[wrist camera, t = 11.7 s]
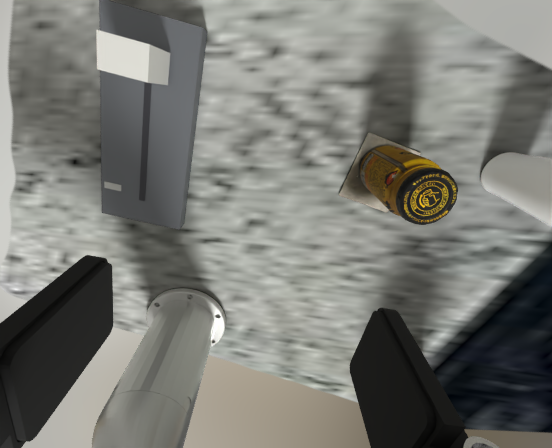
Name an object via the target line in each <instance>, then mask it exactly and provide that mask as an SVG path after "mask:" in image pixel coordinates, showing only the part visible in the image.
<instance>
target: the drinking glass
mask: <svg viewBox="0 0 552 448" xmlns="http://www.w3.org/2000/svg"><path fill="white" fill-rule="evenodd" d="M481 183H482V186H483V187H484V189H485V190H486V191H488V192H489V193H492V194H494V195H496V196H498V197H500V198H502V199H503V200H505V201H507V202H509V203H510V204H512V205H514V206H516V207H517V208H519V209H521V210H522V211H524V212H526V213H527V214H529V215H531V216H533V217H534V218H536V219H538V220H539V221H541V222H543V223H544V224H546V225H548V226H550V227H551V228H552V158H547V157H539V156H531V155H524V154H520V153H514V152H507V153H502V154H500V155H497V156H496V157H494V158H492V159H491V160H490V161H489V162H488V163H487V164H486V165H485V167H484V169H483V171H482V174H481Z"/></svg>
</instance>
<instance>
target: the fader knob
mask: <svg viewBox="0 0 552 448" xmlns="http://www.w3.org/2000/svg"><path fill="white" fill-rule="evenodd" d="M96 31H97V69H98V70H102V71H106V72H109V73H113V74H117V75H121V76H124V77H128V78H132V79H136V80H140V81H143V82H147V83H154V84H162V85H168V77H169V64H170V53H169V52H166V51H164V50H162V49H159V48H157V47H155V46H152V45H150V44H146V43H143V42H139V41H136V40H132V39H128V38H125V37H121V36H118V35H114V34H110V33H107V32H103V31H100V30H96Z"/></svg>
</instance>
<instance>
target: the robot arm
mask: <svg viewBox="0 0 552 448" xmlns="http://www.w3.org/2000/svg"><path fill="white" fill-rule="evenodd" d="M146 319H147V325H148V327H149V329H148V330H147V332H146V334H145V336H144V338H143V339H142V341H141V343H140V345H139V347H138V348H137V350H136V352H135V354H134V355H133V357H132V359H131V361H130V363H129V364H128V366H127V368H126V370H125V371H124V373H123V375H122V377H121V379H120V380H119V382H118V384H117V385H116V387H115V389H114V391H113V393H112V395H111V396H110V398H109V400H108V401H107V403H106V405H105V407H104V409H103V410H102V412H101V414H100V416H99V418H98V420H97V423H96V426H95V429H94V433H93V438H92V448H183V446H184V442H185V438H186V435H187V431H188V427H189V423H190V420H191V416H192V413H193V409H194V405H195V401H196V398H197V394H198V390H199V387H200V383H201V380H202V376H203V372H204V368H205V365H206V361H207V357H208V354H209V350H210V347H212V346H214V345H215V344H216V343H217V342H218V341H220V339H221V338H222V336H223V334H224V331H225V327H226V317H225V314H224V311H223V310H222V308H221V306H220V305H219V304H218V303H217V302H216V301H215V300H214V299H213V298H212V297H210V296H208V295H207V294H205V293H202V292H200V291H197V290H193V289H186V288H179V289H172V290H168V291H165V292H163V293H161V294H160V295H158V296H157V297H156V298H155V299H154V300H153V301H152V303H151V305H150V306H149V308H148V311H147V317H146ZM112 327H113V289H112V265H111V264H109V263H108V262H107V259H105V258H101V257H95V256H90V255H86V256H84V257H83V258H82V259H80V260H79V261H78V262H77V263H75V264H74V265H73V266H72V267H70V268H69V269H68V270H67V271H65V272H64V273H63V274H62V275H60V276H59V277H58V278H57V279H55V280H54V281H53V282H52V283H50V284H49V285H48V286H47V287H45V288H44V289H43V290H42V291H40V292H39V293H38V294H37V295H35V296H34V297H33V298H32V299H30V300H29V301H28V302H27V303H25V304H24V305H23V306H22V307H20V308H19V309H18V310H16V311H15V312H14V313H13V314H11V315H10V316H9V317H8V318H7V319H5V320H4V321H3V322H1V323H0V448H21V447H22V446H23V444H24V443H25V442H26V441H31V440H33V439H34V438H35V437H36V436H37V434H38V433H39V432H40V430H41V428H42V427H43V426H44V425H45V423H46V422H47V420H48V419H49V418H50V416H51V415H52V414H53V412H54V411H55V409H56V408H57V406H58V405H59V404H60V402H61V401H62V400H63V398H64V397H65V396H66V394H67V393H68V391H69V390H70V389H71V387H72V386H73V384H74V383H75V382H76V380H77V379H78V377H79V376H80V375H81V373H82V372H83V371H84V369H85V368H86V366H87V365H88V363H89V362H90V361H91V359H92V358H93V357H94V355H95V354H96V352H97V351H98V350H99V348H100V347H101V345H102V344H103V343H104V341H105V340H106V339H107V337H108V336H109V334H110V332H111V330H112ZM350 374H351V377H352V381H353V384H354V388H355V392H356V395H357V399H358V402H359V406H360V409H361V413H362V417H363V420H364V424H365V428H366V431H367V434H368V439H369V442H370V446H371V448H499V447H498V446H497V445H495V444H493V443H492V442H490V441H488V440H486V439H483V438H480V437H472V436H471V437H470V438H468V436H467V434H466V433H465V431H464V429H465V425H464V423H463V422H462V420H461V418H460V417H459V415H458V413H457V411H456V410H455V408H454V406H453V405H452V403H451V401H450V400H449V398H448V396H447V394H446V393H445V391H444V389H443V388H442V386H441V384H440V383H439V381H438V379H437V377H436V376H435V374H434V372H433V371H432V369H431V367H430V366H429V364H428V362H427V360H426V359H425V357H424V355H423V354H422V352H421V350H420V348H419V347H418V345H417V343H416V342H415V340H414V338H413V337H412V335H411V333H410V331H409V330H408V328H407V326H406V325H405V323H404V321H403V320H402V318H401V316H400V314H399V313H398V312H397V311H396V310H391V309H385V308H379V309H378V311H374V312H373V314H372V316H371V318H370V320H369V322H368V325H367V327H366V329H365V331H364V333H363V336H362V338H361V340H360V342H359V344H358V347H357V349H356V351H355V353H354V355H353V358H352V360H351V363H350Z"/></svg>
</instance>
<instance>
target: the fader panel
mask: <svg viewBox="0 0 552 448" xmlns="http://www.w3.org/2000/svg"><path fill="white" fill-rule="evenodd" d="M99 10H100V31H103V32H107V33H110V34H114V35H118V36H121V37H125V38H128V39H132V40H136V41H139V42H143V43H146V44H150V45H152V46H155V47H157V48H159V49H162V50H164V51H166V52H169V53H170V64H169V77H168V85H162V84H154V83H147V82H143V81H140V80H136V79H132V78H128V77H124V76H121V75H117V74H113V73H109V72H106V71H102V70H100V97H101V184H102V213H105V214H110V215H114V216H119V217H123V218H128V219H133V220H137V221H142V222H146V223H151V224H155V225H160V226H165V227H169V228H174V229H178V230H180V228H181V227H182V226H183V224H184V220H185V211H186V203H187V195H188V187H189V178H190V170H191V162H192V154H193V146H194V137H195V129H196V121H197V113H198V105H199V96H200V88H201V80H202V72H203V63H204V55H205V47H206V39H207V31H206V30H205V29H204V28H203V27H199V26H196V25H193V24H189V23H186V22H182V21H179V20H175V19H172V18H168V17H165V16H161V15H158V14H154V13H151V12H148V11H144V10H141V9H137V8H134V7H130V6H127V5H123V4H120V3H116V2H113V1H109V0H99Z"/></svg>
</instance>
